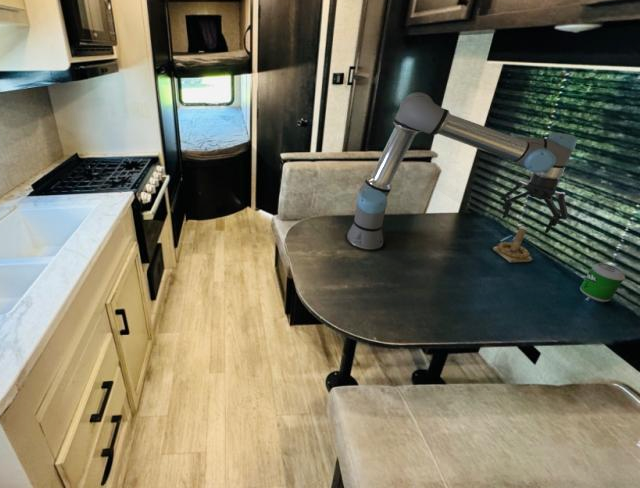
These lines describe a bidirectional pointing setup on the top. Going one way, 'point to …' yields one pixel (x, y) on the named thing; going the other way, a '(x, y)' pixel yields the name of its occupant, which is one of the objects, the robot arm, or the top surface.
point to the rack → (515, 247)
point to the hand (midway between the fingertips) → (524, 224)
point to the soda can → (602, 282)
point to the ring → (510, 254)
